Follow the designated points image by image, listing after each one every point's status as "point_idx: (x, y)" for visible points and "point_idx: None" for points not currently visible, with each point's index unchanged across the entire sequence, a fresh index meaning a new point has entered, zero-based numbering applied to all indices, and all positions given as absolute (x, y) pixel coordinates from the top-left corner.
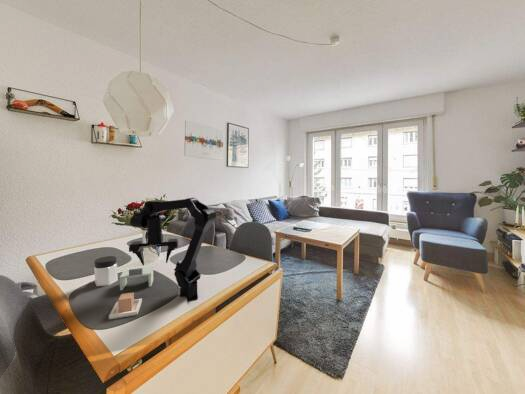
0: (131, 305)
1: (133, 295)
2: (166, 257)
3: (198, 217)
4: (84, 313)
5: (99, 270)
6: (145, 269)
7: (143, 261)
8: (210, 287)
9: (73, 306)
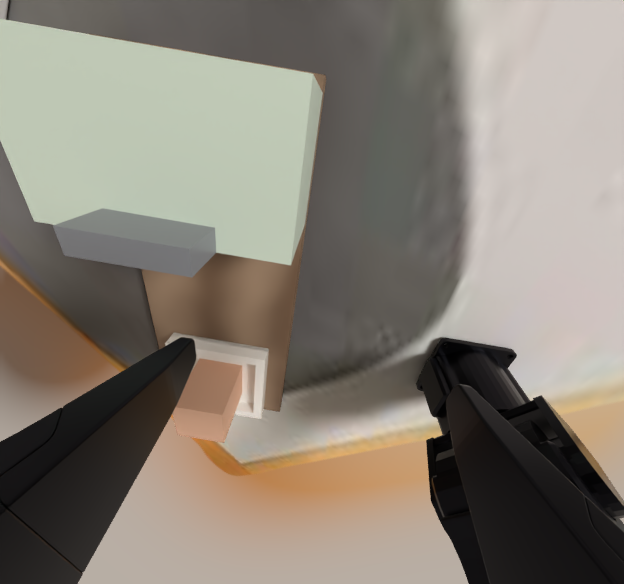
0: (234, 412)
1: (226, 409)
2: (472, 519)
3: None
4: (72, 304)
5: None
6: (224, 125)
7: (168, 412)
8: (598, 343)
9: None
